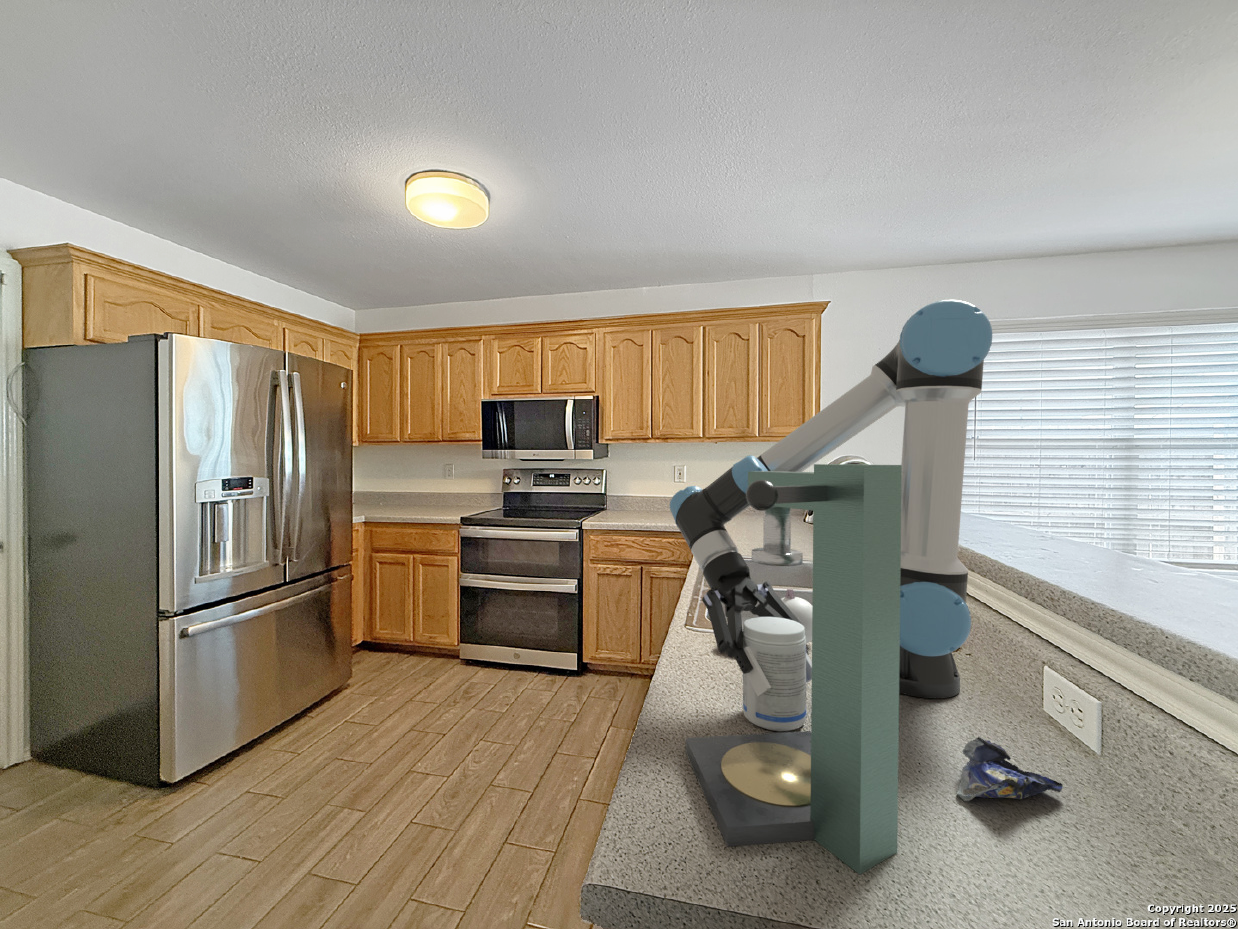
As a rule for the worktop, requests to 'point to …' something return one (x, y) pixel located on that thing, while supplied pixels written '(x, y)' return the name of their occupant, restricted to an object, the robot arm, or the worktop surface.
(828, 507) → the arbor press
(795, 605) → the ornament
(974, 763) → the snack package
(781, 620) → the supplement tub
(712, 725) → the worktop surface
